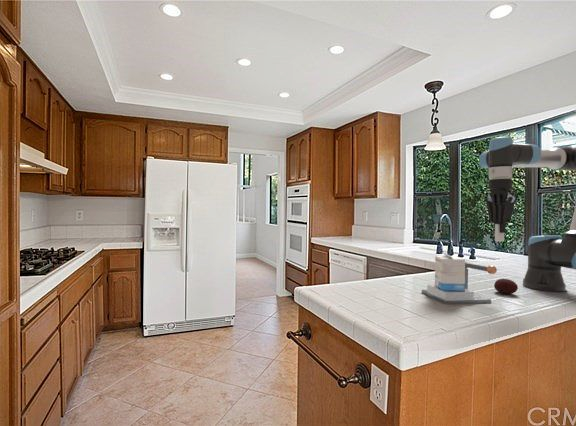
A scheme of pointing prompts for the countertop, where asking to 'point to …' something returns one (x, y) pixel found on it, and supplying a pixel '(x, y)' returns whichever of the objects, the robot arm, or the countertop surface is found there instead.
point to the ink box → (450, 272)
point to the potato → (505, 286)
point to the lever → (482, 267)
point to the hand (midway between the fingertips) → (499, 241)
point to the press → (455, 294)
